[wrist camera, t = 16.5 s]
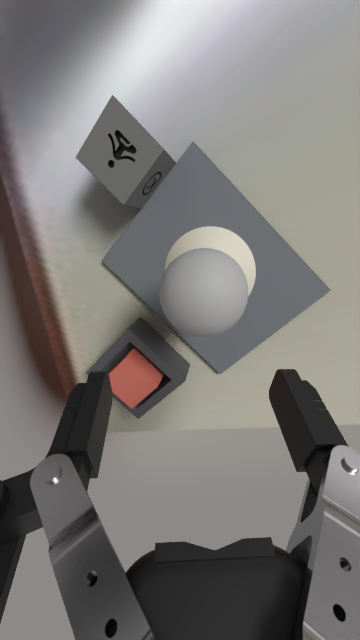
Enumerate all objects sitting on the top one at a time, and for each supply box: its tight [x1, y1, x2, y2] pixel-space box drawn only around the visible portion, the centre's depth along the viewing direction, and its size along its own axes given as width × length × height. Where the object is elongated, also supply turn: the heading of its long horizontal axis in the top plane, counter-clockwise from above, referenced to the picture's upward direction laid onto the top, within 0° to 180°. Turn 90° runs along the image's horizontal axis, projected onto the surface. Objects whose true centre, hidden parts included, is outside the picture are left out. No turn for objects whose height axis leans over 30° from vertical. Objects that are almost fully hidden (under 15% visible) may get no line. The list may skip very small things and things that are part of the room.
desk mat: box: [102, 142, 330, 374], centre depth 25 cm, size 18×14×1 cm
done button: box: [108, 347, 164, 409], centre depth 27 cm, size 4×4×2 cm
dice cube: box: [76, 95, 176, 209], centre depth 21 cm, size 5×5×5 cm
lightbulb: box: [159, 248, 248, 337], centre depth 20 cm, size 6×6×11 cm
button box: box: [86, 318, 190, 419], centre depth 29 cm, size 8×8×4 cm
